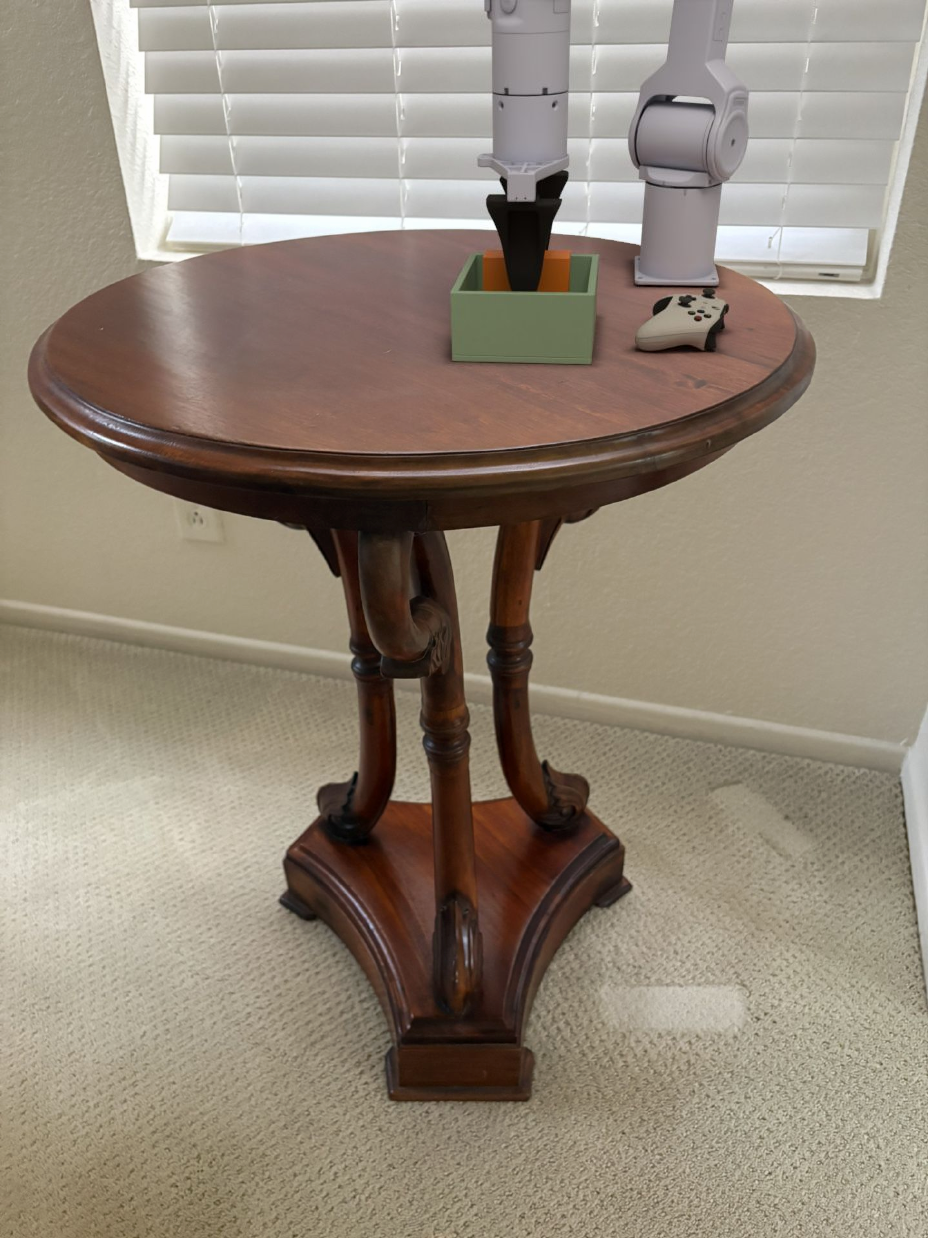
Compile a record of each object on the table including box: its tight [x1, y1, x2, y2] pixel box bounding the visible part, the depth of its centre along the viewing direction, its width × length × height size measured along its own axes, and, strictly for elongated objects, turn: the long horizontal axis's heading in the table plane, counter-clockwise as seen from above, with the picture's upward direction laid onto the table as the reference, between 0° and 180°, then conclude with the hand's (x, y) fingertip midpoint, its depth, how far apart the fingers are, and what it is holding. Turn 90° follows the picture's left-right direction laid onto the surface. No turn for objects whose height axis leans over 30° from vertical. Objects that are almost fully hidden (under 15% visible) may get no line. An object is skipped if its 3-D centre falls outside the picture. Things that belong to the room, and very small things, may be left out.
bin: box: [449, 252, 600, 365], centre depth 84 cm, size 12×11×6 cm
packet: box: [483, 249, 572, 292], centre depth 83 cm, size 2×7×6 cm, turn 82°
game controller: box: [634, 287, 730, 352], centre depth 84 cm, size 10×5×6 cm
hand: (528, 276), depth 83 cm, fingers open, 7 cm apart
